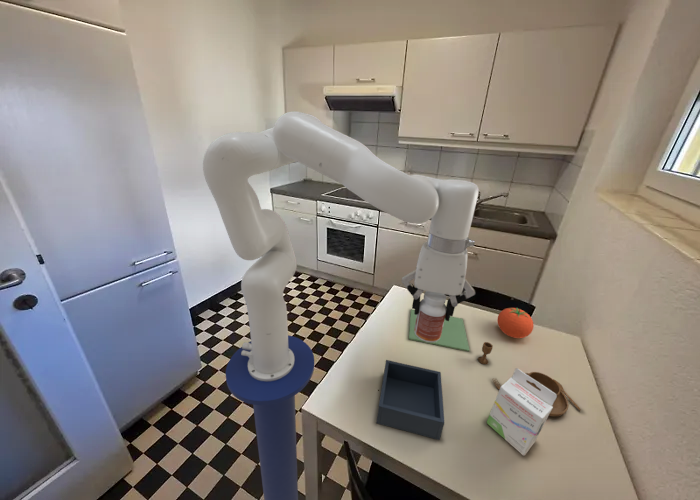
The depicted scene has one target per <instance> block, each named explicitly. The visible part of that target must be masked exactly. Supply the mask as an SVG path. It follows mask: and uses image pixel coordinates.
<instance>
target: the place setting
mask: <svg viewBox="0 0 700 500" xmlns="http://www.w3.org/2000/svg"><path fill="white" fill-rule="evenodd" d="M493 348H494V345H493V344H492V343H490V342H488V341H484V342H483V344H482V347H481V351H482V353H483V354H482V356H479V357H478V358H477V361H478V362H479V363H480V364H481V365H488V364H489V360H488V358H487V356H488V355H490V354H491V353H492V350H493ZM524 373H525V374H527V375H528V376H530V377H531V378H533V379H534V380H536V381H537V382H539V383H540V384H542V385H543V386H545V387H546V388H548V389H549V390H551V391H552V392H554V393H555V394H556V395H557V397H556V399H555V401H554V403H553V405H552V406H553V408H552V410H551V412H550V414H549V416H548V417H560V416H563V415H564V414H566V413H567V411H568V410H569V401H570V402H571V403H572V404H573V405H574V406H575V408H576V409H578V410H579V411H581V408H580V407H579V405H578V404H577V403H576V401H574V400H573V399H572V398H571V396H570V395H569V394H568V393H567V392H566V391H565V389H564V387H563V385H562V384H561V383H560V382H559V381H557V380H556V379H553V378H552V377H551V376H549V375H547V374H545V373H542V372H539V371H531V372H524ZM491 380H492V382H493V384H494V385H495V387H496V388H497V389H498V391H499V390H500V387H501V386H502V385H501V384H500V382H499V381H498V379H497V378H491ZM526 382H527V383H529V384H530V385H532V386H533V387H534V388H536V389H537V390H539V391H541V389H540V388H538V387H537V386H536V385H535V384H534V383H531V382H530V381H528V380H526Z"/></svg>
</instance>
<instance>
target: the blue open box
mask: <svg viewBox="0 0 700 500" xmlns="http://www.w3.org/2000/svg"><path fill="white" fill-rule="evenodd" d="M383 370H384V371H383V375H382V382H381V389H380V396H379V401H378V408H377V415H376V422H375V423H376V424H378V425H381V426H384V427H385V426H386V427H389V428H393V429H397V430H401V431H404V432H408V433H412V434H415V435H419V436H423V437H427V438H429V439H434V440H437V441H440V440H441V438H442V437H441V436H442V433H443V429H444V426H445V411H444V399H443V398H444V397H443V384H442V373H441V371H439V370H434V369H429V368H425V367H421V366H416V365H413V364H412V365H411V364H407V363H402V362H397V361H393V360H389V359H386V360H385V366H384V369H383Z"/></svg>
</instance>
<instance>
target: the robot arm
mask: <svg viewBox="0 0 700 500" xmlns="http://www.w3.org/2000/svg"><path fill="white" fill-rule="evenodd" d="M202 159H203V160H202V171H203V177H204V180H205V182H206V184H207V187H208V189H209V190H210V193H211V195H212V197H213V199H214V201H215V204H216V205H217V208H218V211H219V214H220V217H221V220H222V223H223V225H224V227H225V231H226V234H227V236H228V238H229V241H230V243H231V247H232V248H233V250H234V252H235V253H236V255H237V256H238V257H239V258H241V259H242V260H245V261H254V260H256V261H255V262H254V263H253V264H252V265H251V266H249V268H248V269H247V270H246V271H245V273H244V275H243V277H242V278H241V282H240V289H241V290H240V291H241V293H242V296H243V299H244V301H245V305H246V309H247V317H248V325H249V334H250V341H251V343H248V342H246V341H245V342H243V343H242V345H241V347H242V349H245V350H251V351H250V352H248V351H245V350H243V351H242V352H241V355H243V356H248V357H249V361H248V371H249V373H250V375H251V376H252V377H253V378H255V379H257V380H260V381H274V380H277V379H280V378H282V377H284V376H285V375H287V374H288V373H289V372H290V371H291V369H292V368H293V366H294V361H295V360H294V354H293V352H292V351H291V350H290V349H289V348H288V335H289V329H288V309H287V304H286V301H285V299H284V290H285V288H286V287H287V285H288V284H289V282H290V281H291V280H292V278H293V277H294V275H295V273H296V271H297V267H298V261H297V257H296V254H295V249H294V246H293V242H292V240H291V239H292V238H291V236H290V233H289V229H288V226H287V224H286V222H285V220H284V219H283V217H282V216H281V215H280V214H279V213H277V212H276V211H274V210H273V209H268V208H262V207H261V203H260V200H259V197H258V195H257V192H256V190H254V188H253V186H252V185H251V184H250V183H249V180H248V179H249V178H251V177H252V176H255V175H256V176H257V175H259V174H263V173H266V172H270V171H273V170H276V169H279V168H282V167H284V166H287V165H290V164H293V163H296V162H297V163H299V164H301V165H303V166H304V167H307V168H309V169H311V170H313V171H315V172H317V173H319V174H321V175H323V176H325V177H327V178H329V179H331V180H333V181H335V182H337V183H339V184H341V185H342V186H343V187H344V188H345V189H347V190H348V191H350V192H352V194H354V195H356V196H357V197H359V198H360V199H362V200H363V201H365V202H366V203H367V204H369V205H370V206H373V207H374V208H376V209H378V210H380V211H381V212H384V213H386V214H388V215H390V216H392V217H393V218H396V219H398V220H400V221H402V222H405V223H408V224H413V225H418V224H419V225H420V224H423V223H427V222H428V221H430V225H429V231H428V236H427V241H425V242H423V243H422V245H421V248H420V251H419V255H418V257H417V261H416V267H415V269H414V270H412V271H410V272H409V273H407V274H405V275H404V276H402V277H401V280H400V281H401V283H402V285H403V286H404V287H405V288H406V290H407V291H408V293H409V294H410V296H412V299H413V300H412V305H411V309H412V310H415V312H414V314H415V315H417V314H418V310H419V304H420V301H421V295H422V294H423V293H424V292H426V291H430V292H436V293H441V294H444V295H448V297H449V298H448V299H447V301H446V304H445V305H446V308H447V311H446V316H445V320H446V321H449V318H450V316H451V317H454V313H455V308H456V307H458V305H459V304H460V303H463V302H465V301H466V300H467V299H470V298H471V297H473V296H475V295H476V290H475V289H474V288H473V286H472V285H471V284H470V283H469V281H468V279H466V274H467V269H468V268H467V267H468V259H469V258H468V248H470V247H471V248H474V247H475V242H476V241H475V240H474V239H471V238H469V234H470V230H471V226H472V224H473V223H472V222H473V218H474V214H475V209H476V205H477V201H478V197H479V192H480V189H479V185H477V184H476V183H474V182H472V181H469V180H465V179H456V178H455V179H449V178H447V179H441V178H437V177H431V176H427V175H422V174H410V175H409V174H408V173H406V172H404V171H402V170H400V169H398V168H396V167H394V166H392V165H391V164H389V163H387V162H386V161H384V160H382V159H381V158H380V157H378V156H377V155H375V154H374V152H372V150H370V149H369V148H368V147H367V146H366V145H365V144H364V143H362V142H361V141H359V140H358V139H355V138H353V137H350V136H349V135H346V134H344V133H343V132H340V131H338V130H336V129H334V128H332V127H331V126H329V125H326V124H325V123H324V122H322V121H321V120H320V119H319V118H318V117H316V116H315V115H313V114H310V113H306V112H301V111H297V110H296V111H288V112H285V113H283V114H282V115H280V116H279V117H278V118H277V120H276V121H275V122H274V126H273V127H270V128H268V129H264V130H262V131H252V132H251V131H233V132H228V133H226V134H223V135H220V136H218V137H217V138H215V139H214V140H213V141H212V142H211V143H210V144H209V145H208V147H207V149H206V151H205V153H204V156H203V158H202ZM411 281H414V282H413V283H412V282H411Z"/></svg>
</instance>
